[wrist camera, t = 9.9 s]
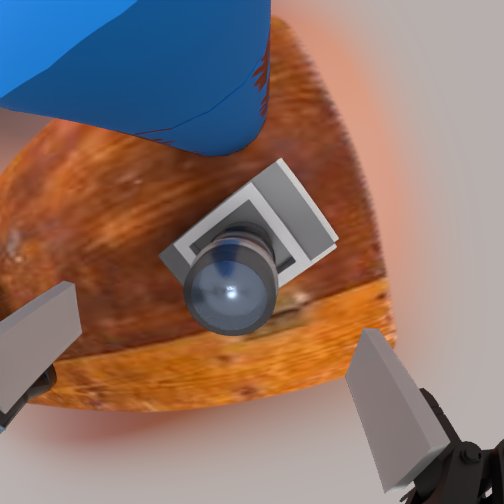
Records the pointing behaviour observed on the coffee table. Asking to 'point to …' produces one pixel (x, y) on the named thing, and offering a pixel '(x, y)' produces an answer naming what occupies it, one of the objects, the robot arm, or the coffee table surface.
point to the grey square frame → (263, 224)
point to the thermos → (142, 67)
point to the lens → (233, 281)
